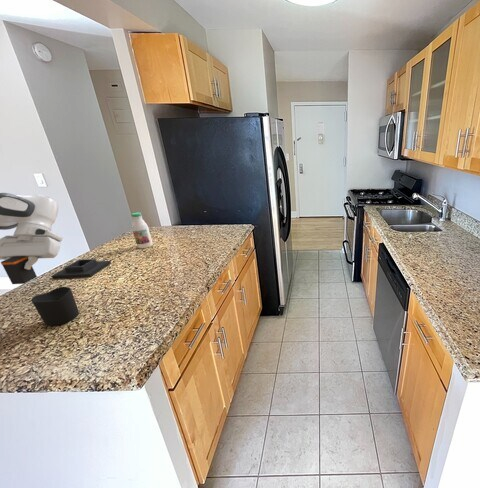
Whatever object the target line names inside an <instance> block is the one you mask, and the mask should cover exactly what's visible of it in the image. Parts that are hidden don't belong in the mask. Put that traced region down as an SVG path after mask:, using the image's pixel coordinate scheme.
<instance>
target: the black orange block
mask: <svg viewBox="0 0 480 488" xmlns="http://www.w3.org/2000/svg"><path fill="white" fill-rule="evenodd" d="M28 260H29V259H28V256H19V257H12V258H9V259H7V260H1V261H0V264H1V265H2V267H3V270H4V271H5V273H6V275H7V277H8V278H9V281H10V282H11V285H25V284H27V283H30V281H33V280H35V279H36V278H38V276H37V274H36V271H35V269H34V268H33V266H32V267H31V269H30V270H24V269H22V265H23V264H26V263H27V261H28Z"/></svg>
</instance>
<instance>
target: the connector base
mask: <svg viewBox="0 0 480 488" xmlns="http://www.w3.org/2000/svg"><path fill="white" fill-rule="evenodd" d="M111 264H112V262H111V260H99V261H98V260H97V259H96V258H85V259H84V258H83V259H77V260H76V261H74V262H72V263H70V264H68V265H67V266H65V267H64V268H63V269H60V270H59V271H57V272H55V273H53V274H52V275H51V278H52V279H54V280H55V279H73V278H76V279H77V278H91V277H93V276H94V275H96V274H97V273H99V272H101V271H102V270H103V269H105V268H106V267H108V266H110V265H111Z"/></svg>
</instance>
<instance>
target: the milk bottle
mask: <svg viewBox="0 0 480 488" xmlns="http://www.w3.org/2000/svg"><path fill="white" fill-rule="evenodd" d="M130 215H131V218H132V224H131V230H132V234H133V237H134V241H135V245H136V247H137V249H147V248H148V249H149V248H150V247H152V246H153V245H154V243H153V240H152V236H151V232H150V229H149V226H148V224H147V222H146V221H145V220H144V219H143V215H142V212H132V213H131V214H130Z"/></svg>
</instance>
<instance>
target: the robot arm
mask: <svg viewBox="0 0 480 488" xmlns="http://www.w3.org/2000/svg"><path fill="white" fill-rule="evenodd" d="M58 212H59V204H58V203H57V201H55V200H54V199H53V198H51V197H49V196H47V195H44V194H32V195H20V194H12V193H9V192H0V230H2V231H5V230H6V231H7V230H12V229H15V230H14V232H13V234H12V235H5V236H3V237H1V238H0V261H4V260H7V259H9V258H12V257H19V256H28V259H29V260H28V261H27V263H26V264H23V265H22V269H24V270H30V269H31V267H33V266H34V265H35V264H36V263H37V262H38V261H39V259H54V258H56V257H57V256H58V254H59V252H60V249H61V246H62V245H61V242H62V241H63V236H61V235H59V233H55V232H53V231H52V226H53V225H54V223H56V219H57V217H58V214H59V213H58Z"/></svg>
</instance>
